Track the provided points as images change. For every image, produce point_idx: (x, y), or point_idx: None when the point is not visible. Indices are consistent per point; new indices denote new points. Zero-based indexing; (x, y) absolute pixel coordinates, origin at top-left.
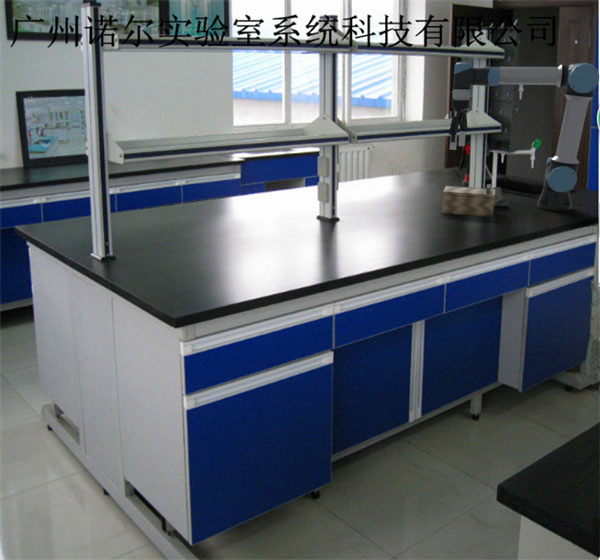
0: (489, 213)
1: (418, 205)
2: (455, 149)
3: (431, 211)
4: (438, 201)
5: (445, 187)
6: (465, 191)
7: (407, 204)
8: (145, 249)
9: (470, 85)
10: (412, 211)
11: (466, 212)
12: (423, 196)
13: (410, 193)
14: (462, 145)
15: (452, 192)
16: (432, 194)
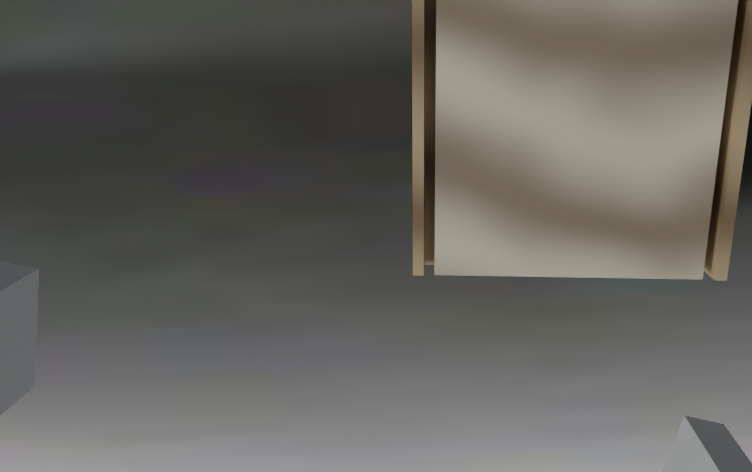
0: None
1: (455, 392)
2: (724, 433)
3: (627, 295)
4: (265, 273)
5: (496, 273)
6: (650, 65)
7: (448, 459)
8: None
9: None
10: (664, 415)
11: None
12: (144, 382)
13: (89, 466)
14: (26, 311)
15: (736, 192)
16: (47, 330)
